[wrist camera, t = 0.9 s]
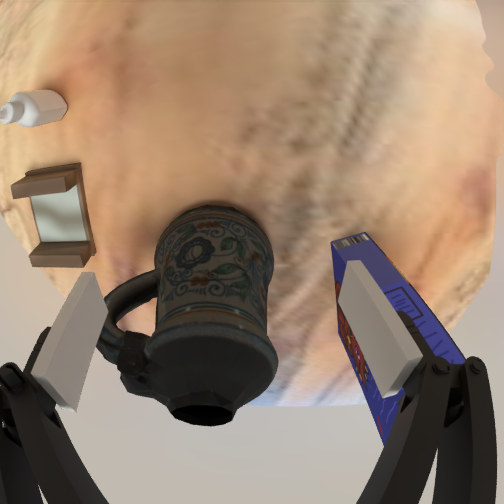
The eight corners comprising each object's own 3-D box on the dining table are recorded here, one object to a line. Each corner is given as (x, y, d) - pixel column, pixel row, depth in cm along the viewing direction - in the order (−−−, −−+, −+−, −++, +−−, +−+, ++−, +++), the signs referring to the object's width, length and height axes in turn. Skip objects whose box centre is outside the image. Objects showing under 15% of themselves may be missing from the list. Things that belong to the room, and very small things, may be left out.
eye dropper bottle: (60, 79, 25) (5, 81, 14) (71, 113, 28) (17, 127, 17) (37, 96, 25) (-18, 105, 15) (48, 129, 28) (-6, 148, 18)
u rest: (28, 171, 30) (9, 182, 26) (80, 162, 31) (63, 172, 27) (47, 252, 37) (33, 269, 33) (96, 252, 38) (84, 270, 34)
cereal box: (365, 324, 53) (426, 451, 27) (338, 333, 53) (391, 467, 28) (365, 232, 42) (484, 388, 16) (330, 241, 42) (434, 418, 16)
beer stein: (278, 284, 45) (320, 430, 24) (165, 311, 45) (147, 451, 24) (256, 187, 36) (310, 330, 15) (123, 225, 37) (47, 371, 15)
